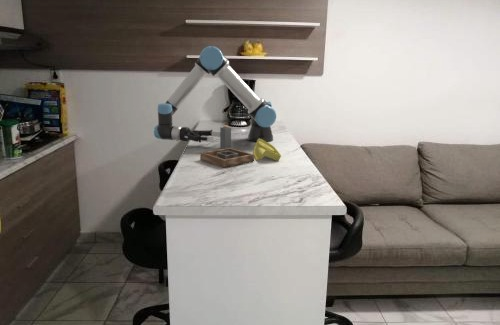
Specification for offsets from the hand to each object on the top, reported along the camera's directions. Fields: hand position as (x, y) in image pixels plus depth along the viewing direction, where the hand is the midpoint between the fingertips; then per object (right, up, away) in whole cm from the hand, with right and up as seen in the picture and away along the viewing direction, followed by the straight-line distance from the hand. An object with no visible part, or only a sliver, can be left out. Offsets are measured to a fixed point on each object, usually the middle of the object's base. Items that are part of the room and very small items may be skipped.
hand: (218, 136), depth 205 cm
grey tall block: (+4, -7, +1) cm, 8 cm away
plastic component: (+25, -11, -11) cm, 29 cm away
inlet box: (+6, -13, -21) cm, 25 cm away
